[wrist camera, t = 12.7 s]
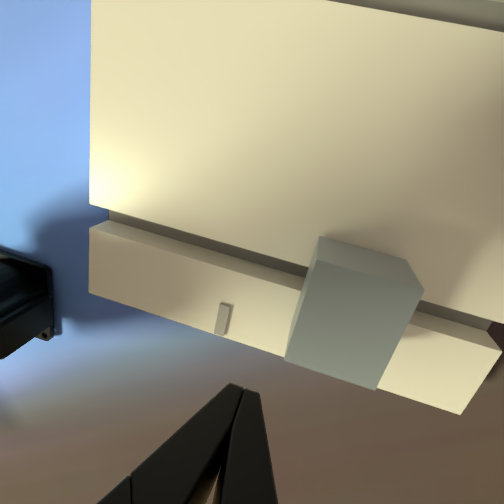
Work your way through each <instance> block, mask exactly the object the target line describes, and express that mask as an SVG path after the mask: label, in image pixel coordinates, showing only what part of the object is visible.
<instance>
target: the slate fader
mask: <svg viewBox="0 0 504 504" xmlns="http://www.w3.org/2000/svg"><path fill="white" fill-rule="evenodd" d="M424 291H425V290H424V288H423V287H422V285H421V283H420V282H419V280H418V278H417V277H416V275H415V273H414V272H413V270H412V269H411V267H410V265H409V264H408V262H407V260H405V259H401V258H398V257H394V256H391V255H387V254H383V253H380V252H376V251H372V250H369V249H365V248H362V247H358V246H354V245H351V244H347V243H343V242H340V241H336V240H333V239H329V238H325V237H322V236H319V237H318V240H317V243H316V246H315V249H314V253H313V256H312V259H311V262H310V265H309V268H308V271H307V275H306V278H305V281H304V284H303V287H302V290H301V293H300V297H299V300H298V303H297V306H296V309H295V312H294V315H293V319H292V322H291V326H290V331H289V336H288V342H287V347H286V352H285V357H284V361H287V362H290V363H293V364H296V365H299V366H302V367H305V368H308V369H311V370H314V371H317V372H320V373H323V374H326V375H329V376H332V377H335V378H338V379H341V380H344V381H347V382H350V383H353V384H356V385H359V386H362V387H365V388H368V389H372V390H376V388H377V386H378V383H379V381H380V379H381V377H382V375H383V373H384V371H385V369H386V367H387V365H388V363H389V361H390V359H391V357H392V355H393V353H394V351H395V349H396V347H397V345H398V343H399V341H400V339H401V337H402V335H403V333H404V331H405V329H406V327H407V325H408V323H409V321H410V319H411V317H412V315H413V313H414V311H415V309H416V307H417V305H418V303H419V301H420V299H421V297H422V295H423V293H424Z"/></svg>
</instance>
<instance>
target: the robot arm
mask: <svg viewBox="0 0 504 504" xmlns="http://www.w3.org/2000/svg"><path fill="white" fill-rule="evenodd" d="M34 337H36V338H39V339H42V340H45V341H49V340H50V339H51V338H53V337H54V317H53V294H52V273H51V270H50V268H49V267H48V266H46V265H44V264H41V263H37V262H34V261H31V260H28V259H25V258H22V257H19V256H16V255H13V254H10V253H7V252H3V251H0V359H4V358H5V357H7V356H9V355H10V354H11V353H13V352H14V351H16V350H17V349H18V348H20V347H21V346H23V345H24V344H26V343H27V342H28V341H30V340H31V339H33V338H34ZM220 467H221V468H220ZM219 470H220V471H219ZM218 473H219V475H218ZM217 476H218V479H217V484H216V488H215V493H214V498H213V503H212V504H278V499H277V493H276V487H275V481H274V475H273V469H272V463H271V458H270V452H269V446H268V440H267V434H266V428H265V422H264V417H263V411H262V405H261V399H260V394H259V393H258V392H256V391H254V390H251V389H248V388H246V389H244V388H243V387H242V386H239V385H236V384H233V383H229V384H228V385H226V386H225V387H224V388H223V389H222V390H221V391H220V392H219V393H218V394H217V395H216V396H214V397H213V398H212V399H211V400H210V401H209V402H208V403H207V404H206V405H205V406H204V407H202V408H201V409H200V410H199V411H198V412H197V413H196V414H195V415H194V416H193V417H192V418H190V419H189V420H188V421H187V422H186V423H185V424H184V425H183V426H182V427H181V428H180V429H179V430H177V431H176V432H175V433H174V434H173V435H172V436H171V437H170V438H169V439H168V440H167V441H165V442H164V443H163V444H162V445H161V446H160V447H159V448H158V449H157V450H156V451H155V452H153V453H152V454H151V455H150V456H149V457H148V458H147V459H146V460H145V461H144V462H143V463H141V464H140V465H139V466H138V467H137V468H136V469H135V470H134V471H133V472H132V473H131V475H130V476H127V477H126V478H125V479H124V480H123V481H122V482H120V483H119V484H118V485H117V486H116V487H115V488H114V489H113V490H112V491H111V492H109V493H108V494H107V495H106V496H105V497H104V498H102V499H101V500H100V501H99V502H98V503H97V504H206V502H207V499H208V497H209V495H210V493H211V490H212V488H213V486H214V483H215V481H216V478H217Z"/></svg>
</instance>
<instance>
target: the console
mask: <svg viewBox="0 0 504 504" xmlns="http://www.w3.org/2000/svg"><path fill="white" fill-rule="evenodd" d="M90 204H92V205H95V206H99V207H102V208H106V209H109V220H107V221H105V222H102V223H100V224H97V225H95V226H92V227H90V228H89V293H91V294H94V295H97V296H100V297H103V298H106V299H109V300H112V301H115V302H118V303H121V304H124V305H127V306H131V307H134V308H137V309H140V310H143V311H146V312H149V313H152V314H155V315H158V316H161V317H164V318H167V319H170V320H173V321H176V322H179V323H182V324H185V325H188V326H191V327H194V328H197V329H200V330H203V331H206V332H210V333H213V334H216V335H219V336H222V337H225V338H228V339H231V340H234V341H237V342H240V343H243V344H246V345H249V346H252V347H255V348H258V349H261V350H264V351H267V352H270V353H273V354H276V355H279V356H282V357H285V352H286V347H287V342H288V336H289V331H290V326H291V322H292V319H293V315H294V312H295V309H296V306H297V303H298V300H299V297H300V293H301V290H302V287H303V284H304V281H305V278H306V275H307V271H308V268H309V265H310V262H311V259H312V256H313V253H314V249H315V246H316V243H317V240H318V237H319V236H322V237H325V238H329V239H333V240H336V241H340V242H343V243H347V244H351V245H354V246H358V247H362V248H365V249H369V250H372V251H376V252H380V253H383V254H387V255H391V256H394V257H398V258H401V259H405V260H407V262H408V264H409V265H410V267H411V269H412V270H413V272H414V273H415V275H416V277H417V278H418V280H419V282H420V283H421V285H422V287H423V288H424V290H425V291H424V293H423V295H422V297H421V299H420V301H419V303H418V305H417V307H416V309H415V311H414V313H413V315H412V317H411V319H410V321H409V323H408V325H407V327H406V329H405V331H404V333H403V335H402V337H401V339H400V341H399V343H398V345H397V347H396V349H395V351H394V353H393V355H392V357H391V359H390V361H389V363H388V365H387V367H386V369H385V371H384V373H383V375H382V377H381V379H380V381H379V383H378V386H377V388H380V389H383V390H386V391H389V392H392V393H395V394H398V395H401V396H404V397H407V398H410V399H413V400H416V401H419V402H422V403H425V404H428V405H431V406H434V407H437V408H440V409H443V410H446V411H450V412H453V413H456V414H459V415H461V413H462V412H463V410H464V409H465V407H466V406H467V404H468V403H469V401H470V400H471V398H472V397H473V395H474V394H475V392H476V391H477V389H478V388H479V386H480V385H481V383H482V382H483V380H484V379H485V377H486V376H487V374H488V373H489V371H490V370H491V368H492V367H493V365H494V364H495V362H496V361H497V359H498V358H499V356H500V355H501V353H502V351H501V349H500V348H499V347H498V345H497V344H496V343H495V342H494V340H493V339H492V338H491V337H490V335H489V334H488V333H487V329H488V328H489V326H490V324H491V323H492V321H496V322H499V323H503V324H504V0H91V95H90Z"/></svg>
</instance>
